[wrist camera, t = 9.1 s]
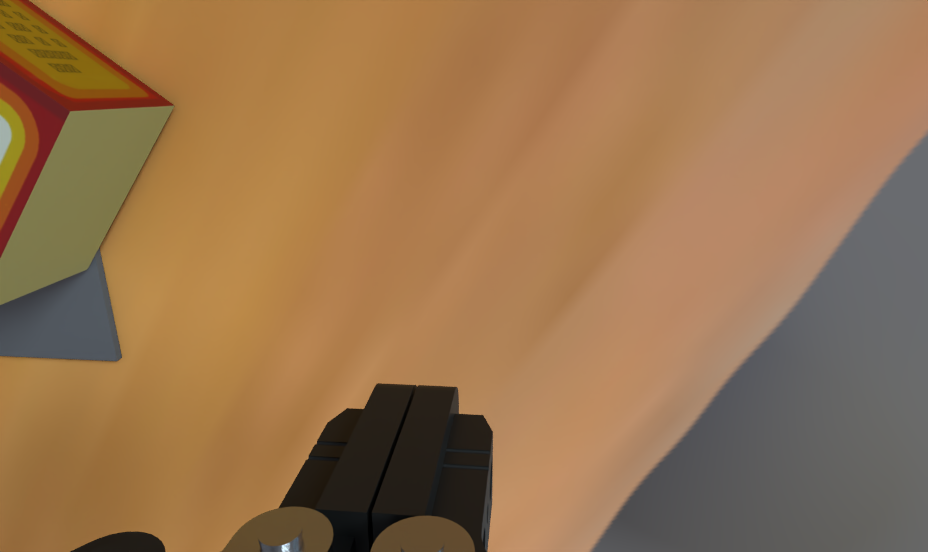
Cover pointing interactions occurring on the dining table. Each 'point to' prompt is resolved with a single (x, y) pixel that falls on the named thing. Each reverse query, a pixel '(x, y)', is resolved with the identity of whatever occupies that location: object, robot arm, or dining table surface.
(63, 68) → the baking soda box
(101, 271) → the bookend
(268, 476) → the dining table surface
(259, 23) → the dining table surface
